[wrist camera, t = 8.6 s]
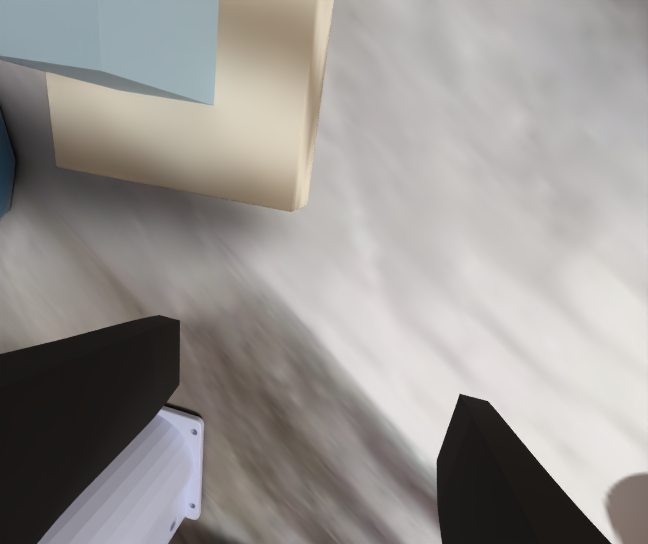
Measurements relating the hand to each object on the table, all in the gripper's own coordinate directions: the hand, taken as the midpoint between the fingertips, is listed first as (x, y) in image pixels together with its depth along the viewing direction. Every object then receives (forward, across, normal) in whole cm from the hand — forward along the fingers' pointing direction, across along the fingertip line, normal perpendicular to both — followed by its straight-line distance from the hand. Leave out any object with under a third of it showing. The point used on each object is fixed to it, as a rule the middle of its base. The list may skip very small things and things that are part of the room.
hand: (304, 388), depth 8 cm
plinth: (+9, +9, -9) cm, 16 cm away
